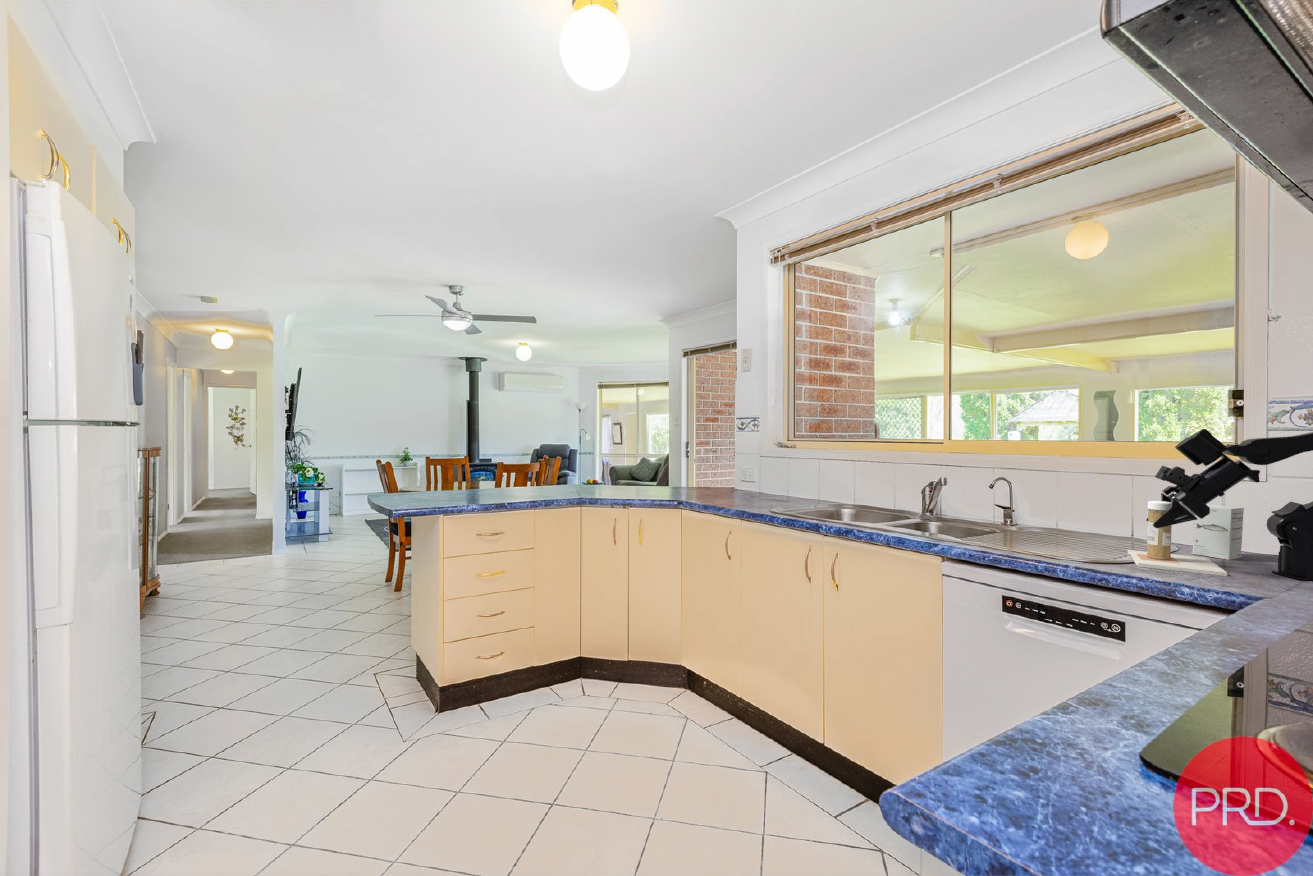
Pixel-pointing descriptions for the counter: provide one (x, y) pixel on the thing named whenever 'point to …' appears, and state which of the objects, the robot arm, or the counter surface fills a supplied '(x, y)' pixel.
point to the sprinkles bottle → (1158, 532)
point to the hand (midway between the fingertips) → (1151, 524)
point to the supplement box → (1219, 532)
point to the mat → (1178, 563)
